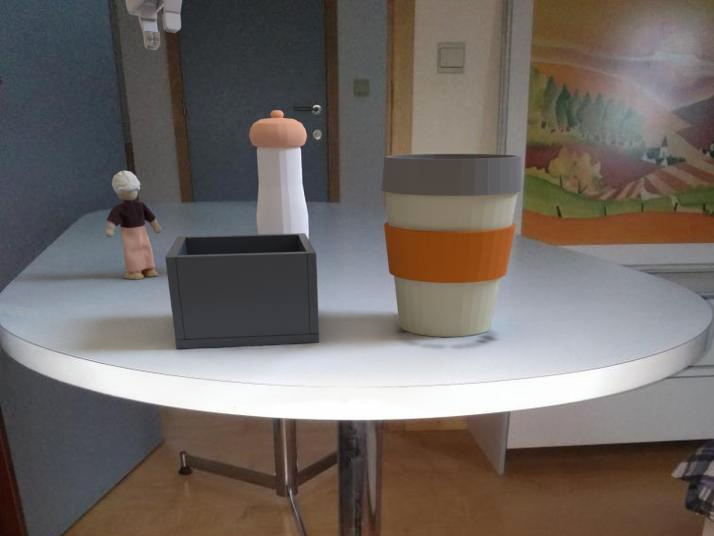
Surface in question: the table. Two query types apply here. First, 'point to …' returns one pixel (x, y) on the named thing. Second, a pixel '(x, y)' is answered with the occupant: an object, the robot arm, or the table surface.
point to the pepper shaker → (280, 175)
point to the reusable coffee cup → (449, 237)
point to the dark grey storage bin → (243, 290)
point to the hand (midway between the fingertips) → (162, 40)
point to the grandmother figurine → (132, 226)
